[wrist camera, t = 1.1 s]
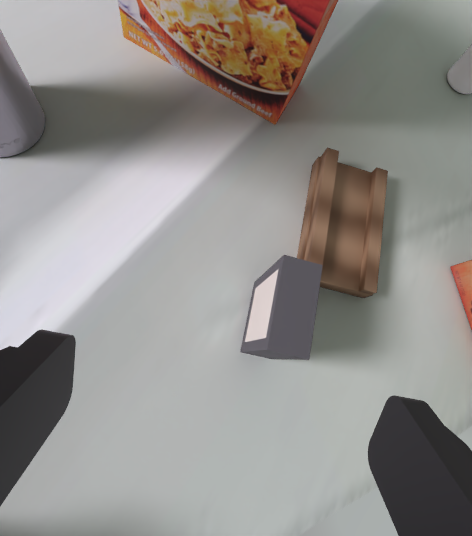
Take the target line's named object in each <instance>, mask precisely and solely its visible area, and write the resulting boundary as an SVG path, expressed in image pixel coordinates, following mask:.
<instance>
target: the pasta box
mask: <svg viewBox="0 0 472 536" xmlns="http://www.w3.org/2000/svg"><path fill="white" fill-rule="evenodd" d="M337 2H338V0H118V3H119V9H120V15H121V22H122V28H123V35H124V37H125V38H126V39H128V40H130V41H132V42H133V43H135V44H137V45H139V46H140V47H142V48H144V49H145V50H147V51H149V52H151V53H152V54H154V55H156V56H157V57H159V58H161V59H163V60H164V61H166V62H168V63H170V64H171V65H173V66H175V67H176V68H178V69H180V70H182V71H183V72H185V73H187V74H189V75H190V76H192V77H194V78H195V79H197V80H199V81H201V82H202V83H204V84H206V85H207V86H209V87H211V88H213V89H214V90H216V91H218V92H220V93H221V94H223V95H225V96H226V97H228V98H230V99H232V100H233V101H235V102H237V103H239V104H240V105H242V106H244V107H245V108H247V109H249V110H251V111H252V112H254V113H256V114H257V115H259V116H261V117H263V118H264V119H266V120H268V121H270V122H271V123H273V124H276V123H277V121H278V119H279V118H280V116H281V114H282V113H283V111H284V109H285V108H286V106H287V104H288V103H289V101H290V99H291V98H292V96H293V94H294V93H295V91H296V89H297V88H298V86H299V84H300V82H301V80H302V78H303V75H304V73H305V71H306V69H307V67H308V65H309V62H310V60H311V58H312V56H313V54H314V52H315V49H316V47H317V45H318V43H319V41H320V39H321V36H322V34H323V32H324V30H325V28H326V26H327V23H328V21H329V19H330V17H331V15H332V12H333V10H334V8H335V6H336V4H337Z"/></svg>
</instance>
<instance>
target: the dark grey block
mask: <svg viewBox="0 0 472 536" xmlns="http://www.w3.org/2000/svg"><path fill="white" fill-rule="evenodd" d="M322 267H323V265H320V264H317V263H313V262H309V261H305V260H302V259H298V258H294V257H290V256H286V255H283V256H282V257H281V258H280V259H279V260H278V261H277V262H276V263H275V264H274V265H273V266H272V267H270V268H269V269H268V270H267V271H266V272H265V273H264V274H263V275H262V276H261V277H260V278H259V279H258V280H256V281H255V282H254V287H253V292H252V297H251V302H250V307H249V312H248V317H247V322H246V327H245V332H244V337H243V342H242V347H241V352H243V353H247V354H251V355H256V356H260V357H265V358H269V359H301V360H309V358H310V351H311V344H312V337H313V330H314V323H315V316H316V309H317V302H318V295H319V288H320V281H321V274H322Z"/></svg>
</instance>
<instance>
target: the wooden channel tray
mask: <svg viewBox="0 0 472 536" xmlns="http://www.w3.org/2000/svg"><path fill="white" fill-rule="evenodd" d="M338 155H339V151H336V150H333V149H330V148H327V149H326V150H325V152H324V153H323V154H322V156H321V157H318V158H317V160H316V161H315V162H314V164H313V165H312V171H311V177H310V183H309V189H308V195H307V201H306V207H305V213H304V219H303V225H302V231H301V237H300V243H299V249H298V255H297V258H298V259H302V260H305V261H309V262H313V263H317V264H320V265H323V267H322V274H321V281H320V287H322V288H326V289H330V290H334V291H338V292H342V293H346V294H350V295H354V296H357V297H361V298H365V297H368V296H371V295H373V294H374V293H377V283H378V272H379V261H380V250H381V239H382V228H383V217H384V206H385V195H386V185H387V174H388V171H386V170H383V169H380V168H376V169H375V170H374V171H373V172H372V173H371V172H368V171H365V170H361V169H358V168H355V167H352V166H348V165H345V164H342V163H338Z"/></svg>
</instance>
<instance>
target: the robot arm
mask: <svg viewBox="0 0 472 536" xmlns="http://www.w3.org/2000/svg"><path fill="white" fill-rule="evenodd" d="M44 127H45V116H44V112H43V110H42V108H41V106H40V104H39V102H38V100H37V98H36V96H35V94H34V92H33V90H32V89H31V87H30V85H29V82H28V81H27V79H26V77H25V75H24V73H23V71H22V69H21V67H20V65H19V64H18V62H17V60H16V58H15V56H14V54H13V52H12V50H11V48H10V47H9V45H8V43H7V41H6V39H5V37H4V35H3V33H2V31H1V30H0V157H8V156H12V155H16V154H19V153H21V152H24V151H26V150H27V149H29V148H30V147H32V146H33V145H34V144H35V143H36V142H37V141H38V140H39V139H40V137H41V135H42V133H43V131H44ZM75 344H76V342H75V338H74V336H73V335H68V334H62V333H57V332H51V331H46V330H39V331H37V332H36V333H35V334H33V335H32V336H31V337H30V338H29V339H27V340H26V341H25V342H24V343H23V344H22V345H20V346H19V347H18V348H17V347H11V346H9V347H7V348H5V349H2V350H0V506H1V504H2V503H3V502H4V500H5V499H6V497H7V496H8V494H9V493H10V491H11V490H12V488H13V487H14V486H15V484H16V483H17V481H18V480H19V478H20V477H21V475H22V474H23V472H24V471H25V470H26V468H27V467H28V465H29V464H30V462H31V461H32V459H33V458H34V456H35V455H36V453H37V452H38V451H39V449H40V448H41V446H42V445H43V443H44V442H45V440H46V439H47V437H48V436H49V435H50V433H51V432H52V430H53V429H54V427H55V426H56V424H57V423H58V421H59V420H60V419H61V417H62V416H63V414H64V412H65V410H66V408H67V406H68V403H69V401H70V398H71V394H72V388H73V374H74V360H75ZM368 461H369V466H370V469H371V471H372V474H373V476H374V479H375V481H376V483H377V486H378V488H379V490H380V493H381V495H382V497H383V500H384V502H385V505H386V507H387V509H388V511H389V514H390V516H391V518H392V521H393V523H394V526H395V528H396V530H397V533H398V535H399V536H472V451H471V450H470V448H469V447H468V446H467V445H466V444H465V443H464V442H463V441H462V440H461V439H459V438H458V437H457V436H456V435H455V434H454V433H453V432H451V431H450V430H449V429H448V428H447V427H446V426H444V425H443V423H442V422H441V421H440V419H439V418H438V417H437V415H436V414H435V413H434V412H433V410H432V409H431V408H430V406H429V405H428V404H427V403H426V402H424V401H421V400H415V399H410V398H405V397H399V396H391V397H390V398H388V400H387V401H386V403H385V406H384V408H383V411H382V413H381V415H380V418H379V420H378V423H377V425H376V427H375V430H374V432H373V435H372V437H371V439H370V442H369V446H368Z"/></svg>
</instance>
